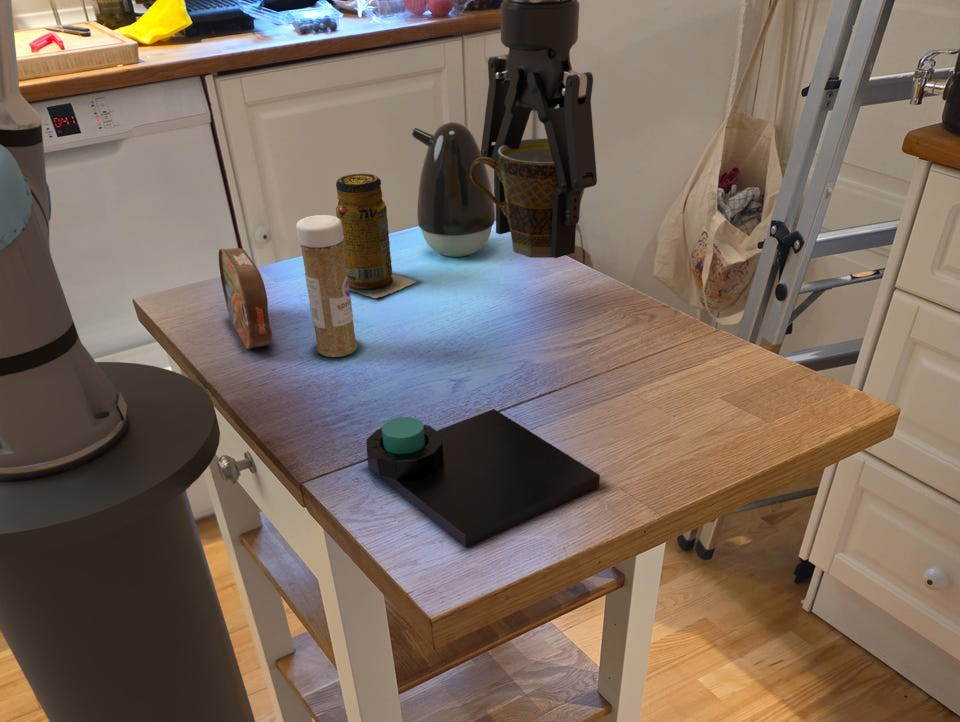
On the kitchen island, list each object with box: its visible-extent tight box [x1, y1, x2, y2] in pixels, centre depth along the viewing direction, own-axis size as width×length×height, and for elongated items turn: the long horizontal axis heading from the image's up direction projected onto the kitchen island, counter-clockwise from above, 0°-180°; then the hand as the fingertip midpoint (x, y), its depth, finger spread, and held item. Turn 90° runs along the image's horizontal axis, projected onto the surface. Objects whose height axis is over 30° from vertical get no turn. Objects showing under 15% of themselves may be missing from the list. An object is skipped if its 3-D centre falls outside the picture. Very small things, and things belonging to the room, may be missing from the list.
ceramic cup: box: [470, 137, 586, 259], centre depth 96 cm, size 13×10×10 cm
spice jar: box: [295, 214, 358, 358], centre depth 92 cm, size 5×5×14 cm
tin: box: [218, 247, 273, 350], centre depth 98 cm, size 15×3×8 cm, turn 23°
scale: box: [365, 408, 601, 548], centre depth 76 cm, size 16×15×3 cm
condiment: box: [335, 173, 418, 299], centre depth 106 cm, size 7×8×12 cm
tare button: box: [381, 416, 425, 454], centre depth 75 cm, size 4×4×2 cm
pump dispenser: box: [411, 121, 496, 258], centre depth 113 cm, size 10×10×15 cm
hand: (534, 242), depth 98 cm, fingers closed on ceramic cup, 9 cm apart
